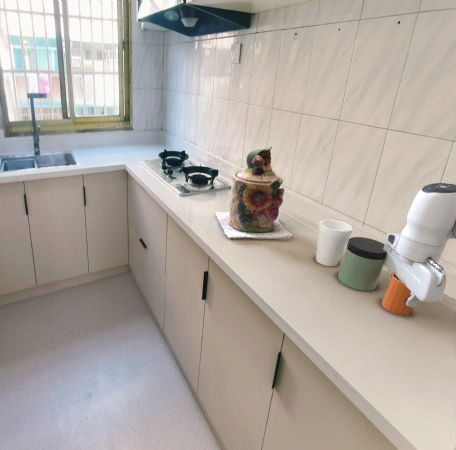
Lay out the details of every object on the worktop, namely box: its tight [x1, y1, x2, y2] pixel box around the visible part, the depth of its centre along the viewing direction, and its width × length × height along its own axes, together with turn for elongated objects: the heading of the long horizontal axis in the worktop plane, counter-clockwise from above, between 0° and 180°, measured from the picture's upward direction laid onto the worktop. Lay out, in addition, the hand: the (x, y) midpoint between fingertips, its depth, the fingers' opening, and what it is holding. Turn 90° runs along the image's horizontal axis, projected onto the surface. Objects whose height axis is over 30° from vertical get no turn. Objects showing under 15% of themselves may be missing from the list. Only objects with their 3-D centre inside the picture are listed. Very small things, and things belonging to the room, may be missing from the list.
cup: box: [381, 273, 414, 316], centre depth 87 cm, size 6×6×9 cm
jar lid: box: [346, 236, 387, 259], centre depth 96 cm, size 10×10×2 cm
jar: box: [337, 246, 385, 292], centre depth 98 cm, size 10×10×12 cm
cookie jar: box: [215, 145, 294, 240], centre depth 128 cm, size 25×25×32 cm
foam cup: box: [315, 218, 354, 267], centre depth 108 cm, size 10×9×13 cm
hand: (400, 295), depth 88 cm, fingers closed on cup, 6 cm apart
